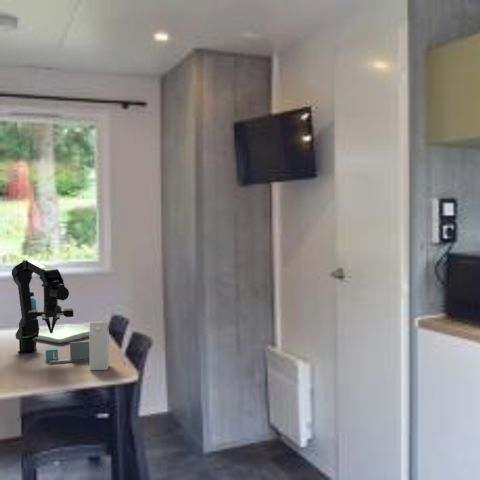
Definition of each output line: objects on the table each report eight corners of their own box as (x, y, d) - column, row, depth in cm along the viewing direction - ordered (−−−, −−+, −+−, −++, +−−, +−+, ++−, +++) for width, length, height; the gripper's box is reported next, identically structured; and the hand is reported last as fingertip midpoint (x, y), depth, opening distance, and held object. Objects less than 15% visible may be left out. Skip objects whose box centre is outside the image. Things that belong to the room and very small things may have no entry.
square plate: (101, 335, 310) (101, 328, 309) (59, 346, 287) (59, 338, 286) (65, 329, 324) (65, 322, 324) (23, 339, 301) (22, 332, 301)
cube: (45, 361, 258) (45, 350, 258) (46, 358, 263) (45, 347, 263) (57, 361, 260) (57, 349, 259) (57, 358, 265) (57, 346, 264)
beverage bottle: (25, 330, 321) (24, 293, 320) (23, 328, 327) (22, 291, 326) (38, 329, 324) (37, 292, 323) (36, 327, 330) (35, 291, 329)
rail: (49, 364, 254) (49, 361, 254) (49, 361, 258) (49, 359, 258) (100, 360, 260) (100, 357, 260) (99, 357, 264) (99, 355, 264)
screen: (70, 358, 258) (70, 342, 258) (70, 358, 259) (70, 342, 259) (99, 356, 262) (98, 340, 261) (98, 356, 263) (98, 340, 262)
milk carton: (92, 365, 252) (91, 321, 250) (109, 365, 252) (108, 320, 251) (89, 370, 245) (88, 324, 243) (107, 370, 245) (106, 324, 244)
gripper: (27, 301, 249) (27, 338, 250) (73, 299, 255) (74, 336, 256) (28, 297, 260) (28, 332, 261) (72, 295, 265) (73, 330, 266)
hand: (51, 333), depth 261 cm, fingers closed
